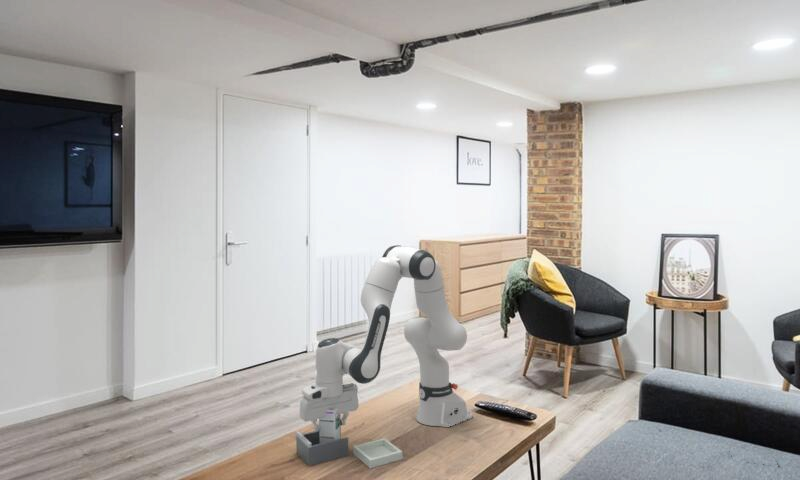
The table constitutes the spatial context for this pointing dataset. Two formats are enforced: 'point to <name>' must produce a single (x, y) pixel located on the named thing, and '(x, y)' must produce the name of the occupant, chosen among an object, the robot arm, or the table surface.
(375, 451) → the tray
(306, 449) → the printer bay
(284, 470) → the table surface
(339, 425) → the syrup box
